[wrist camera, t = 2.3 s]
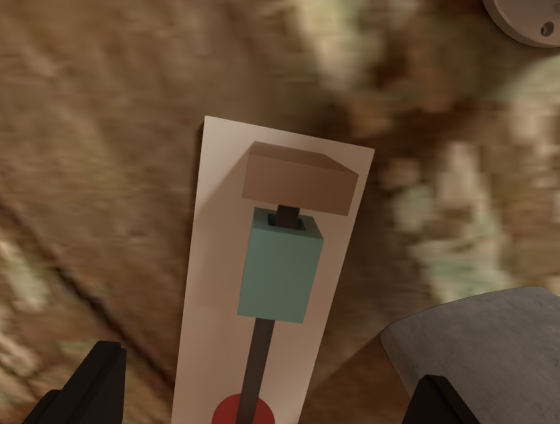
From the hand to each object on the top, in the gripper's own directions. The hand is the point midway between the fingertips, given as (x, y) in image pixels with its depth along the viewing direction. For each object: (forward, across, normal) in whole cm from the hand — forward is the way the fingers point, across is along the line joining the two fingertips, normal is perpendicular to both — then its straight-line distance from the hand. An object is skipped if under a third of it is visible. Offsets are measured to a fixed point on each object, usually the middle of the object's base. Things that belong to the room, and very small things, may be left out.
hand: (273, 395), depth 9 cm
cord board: (+15, -1, +7) cm, 17 cm away
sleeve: (+10, -1, -1) cm, 10 cm away
